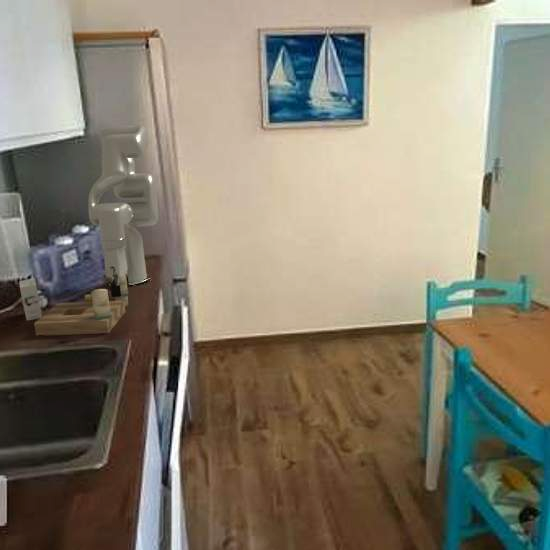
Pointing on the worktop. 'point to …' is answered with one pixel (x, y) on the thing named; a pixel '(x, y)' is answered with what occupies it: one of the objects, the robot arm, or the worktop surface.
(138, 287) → the worktop surface
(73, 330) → the board
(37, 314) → the ink box
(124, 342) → the worktop surface
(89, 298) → the gavel
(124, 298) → the peg
